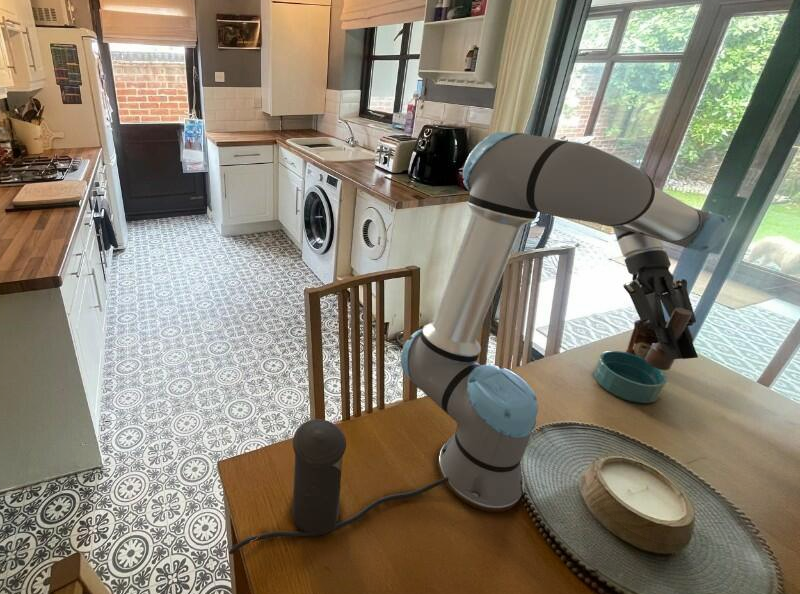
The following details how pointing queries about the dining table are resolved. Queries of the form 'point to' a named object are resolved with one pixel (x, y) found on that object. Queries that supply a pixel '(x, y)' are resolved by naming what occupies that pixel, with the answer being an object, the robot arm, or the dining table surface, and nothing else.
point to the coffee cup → (641, 340)
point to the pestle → (678, 325)
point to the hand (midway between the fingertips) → (682, 358)
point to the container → (317, 475)
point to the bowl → (629, 377)
